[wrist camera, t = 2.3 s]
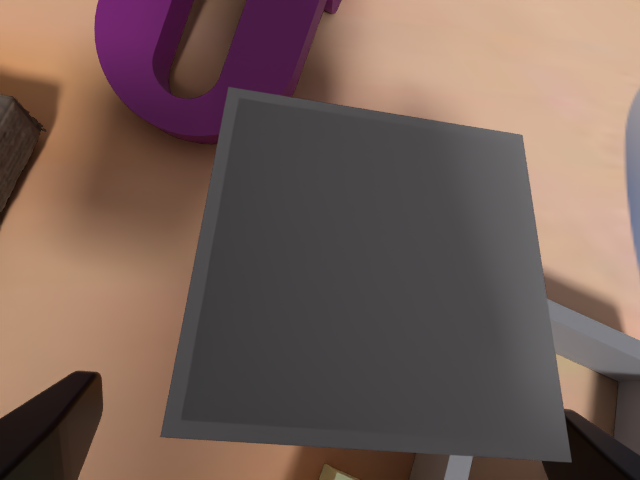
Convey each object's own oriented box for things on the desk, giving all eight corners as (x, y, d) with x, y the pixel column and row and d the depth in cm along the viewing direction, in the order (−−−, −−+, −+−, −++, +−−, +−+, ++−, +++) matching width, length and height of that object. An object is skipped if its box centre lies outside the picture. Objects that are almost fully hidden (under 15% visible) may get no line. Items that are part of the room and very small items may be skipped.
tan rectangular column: (359, 432, 17) (588, 480, 6) (215, 423, 16) (138, 455, 5) (362, 295, 19) (530, 127, 8) (236, 281, 19) (217, 75, 7)
